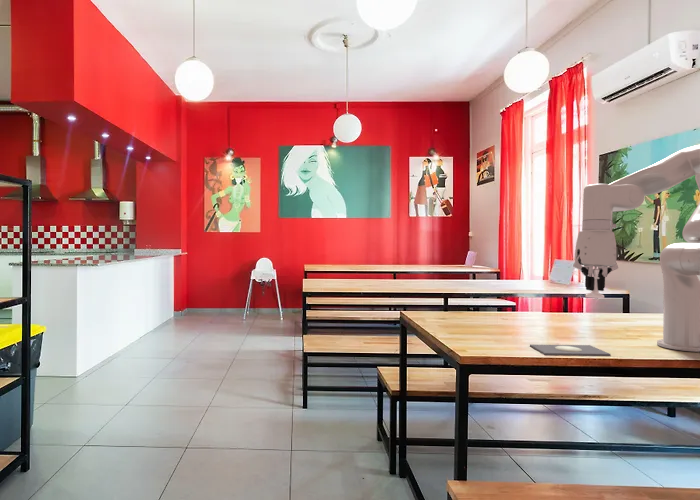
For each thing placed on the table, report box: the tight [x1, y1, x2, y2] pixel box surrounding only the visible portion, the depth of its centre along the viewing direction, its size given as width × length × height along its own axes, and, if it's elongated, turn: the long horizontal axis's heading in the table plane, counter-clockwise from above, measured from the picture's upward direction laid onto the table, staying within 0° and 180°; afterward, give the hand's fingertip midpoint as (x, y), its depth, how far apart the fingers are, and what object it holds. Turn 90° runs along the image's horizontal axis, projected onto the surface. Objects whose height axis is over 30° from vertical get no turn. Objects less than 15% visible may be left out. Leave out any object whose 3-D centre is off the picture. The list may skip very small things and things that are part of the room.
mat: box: [529, 343, 611, 357], centre depth 127 cm, size 18×11×1 cm, turn 88°
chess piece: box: [584, 266, 605, 299], centre depth 127 cm, size 5×5×10 cm
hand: (594, 289), depth 127 cm, fingers closed on chess piece
